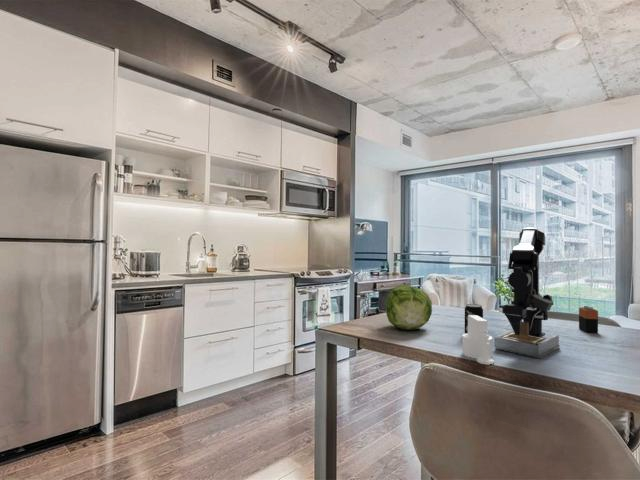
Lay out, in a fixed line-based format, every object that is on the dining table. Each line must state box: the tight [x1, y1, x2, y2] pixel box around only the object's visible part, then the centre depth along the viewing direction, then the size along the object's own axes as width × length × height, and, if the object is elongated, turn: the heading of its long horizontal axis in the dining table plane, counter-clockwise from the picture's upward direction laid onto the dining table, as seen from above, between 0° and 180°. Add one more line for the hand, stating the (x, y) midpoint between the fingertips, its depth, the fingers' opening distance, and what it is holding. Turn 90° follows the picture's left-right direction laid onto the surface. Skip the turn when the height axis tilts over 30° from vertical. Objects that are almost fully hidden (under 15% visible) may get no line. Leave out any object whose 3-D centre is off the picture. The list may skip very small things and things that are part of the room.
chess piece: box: [476, 328, 495, 366], centre depth 114 cm, size 5×5×10 cm
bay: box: [493, 329, 560, 359], centre depth 128 cm, size 19×14×4 cm
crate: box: [503, 321, 545, 344], centre depth 126 cm, size 8×10×8 cm
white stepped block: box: [461, 315, 493, 359], centre depth 121 cm, size 9×9×12 cm
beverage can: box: [464, 303, 484, 334], centre depth 145 cm, size 7×7×12 cm
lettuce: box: [384, 284, 433, 331], centre depth 156 cm, size 19×23×18 cm
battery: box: [578, 305, 599, 334], centre depth 153 cm, size 4×7×10 cm, turn 168°
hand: (523, 332), depth 126 cm, fingers open, 9 cm apart
